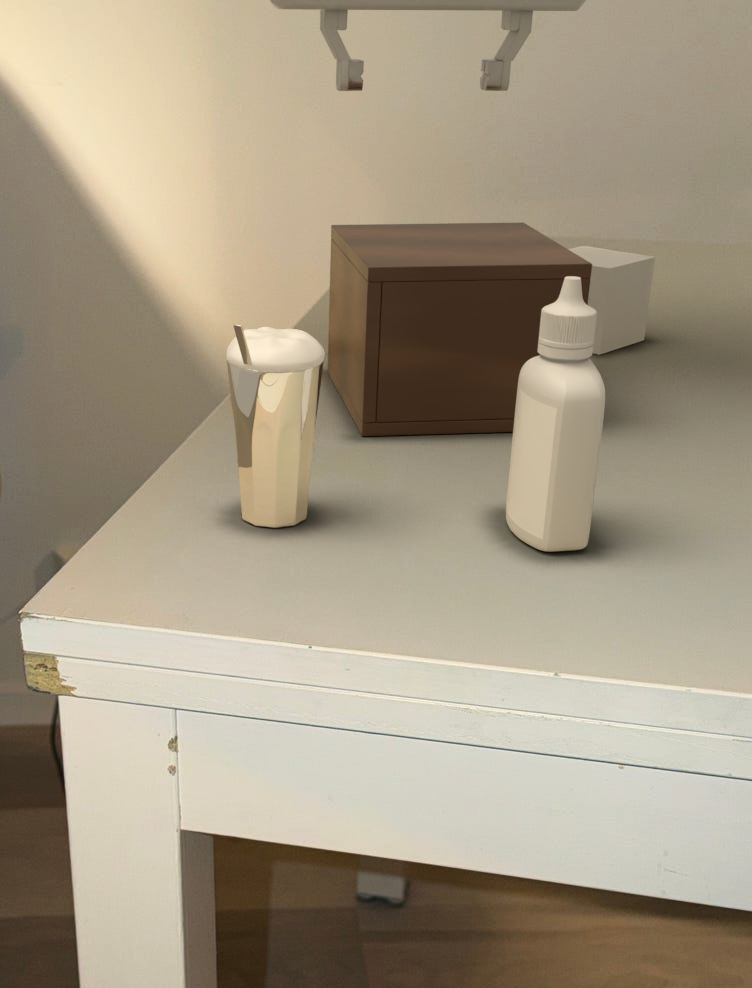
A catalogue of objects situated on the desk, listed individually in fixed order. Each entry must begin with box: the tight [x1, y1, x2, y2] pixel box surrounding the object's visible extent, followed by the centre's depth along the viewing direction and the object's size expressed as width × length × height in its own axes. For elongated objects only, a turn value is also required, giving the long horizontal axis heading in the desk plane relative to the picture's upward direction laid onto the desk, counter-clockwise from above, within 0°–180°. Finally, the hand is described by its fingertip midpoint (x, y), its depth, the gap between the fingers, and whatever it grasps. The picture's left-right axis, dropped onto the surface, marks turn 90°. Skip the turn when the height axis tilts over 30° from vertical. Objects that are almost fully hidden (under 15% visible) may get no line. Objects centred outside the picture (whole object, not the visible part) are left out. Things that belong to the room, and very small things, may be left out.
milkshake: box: [225, 323, 326, 529], centre depth 62 cm, size 4×5×10 cm
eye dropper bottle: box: [505, 276, 606, 553], centre depth 60 cm, size 4×6×12 cm
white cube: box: [567, 245, 656, 356], centre depth 95 cm, size 6×6×6 cm
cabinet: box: [327, 222, 592, 437], centre depth 80 cm, size 14×13×10 cm
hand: (421, 90), depth 84 cm, fingers open, 8 cm apart
